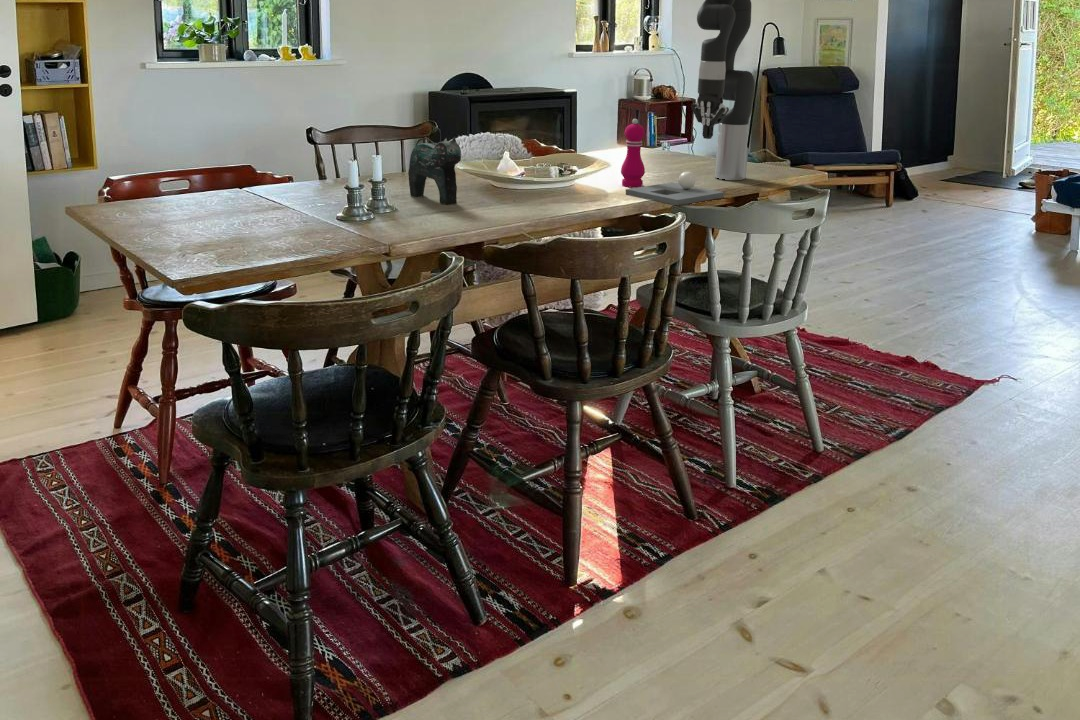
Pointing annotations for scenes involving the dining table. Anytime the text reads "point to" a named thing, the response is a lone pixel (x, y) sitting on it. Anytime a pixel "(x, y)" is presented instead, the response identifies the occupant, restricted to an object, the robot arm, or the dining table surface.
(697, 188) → the plate
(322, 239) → the dining table surface
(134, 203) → the dining table surface
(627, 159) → the pepper mill
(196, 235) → the dining table surface
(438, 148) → the ceramic cat
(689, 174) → the ball
